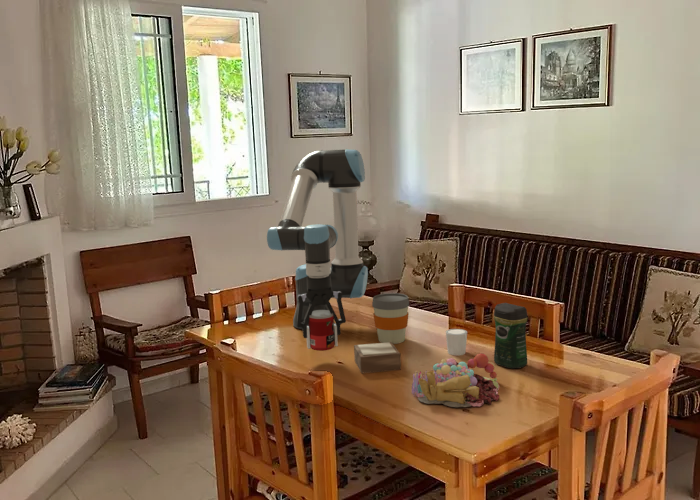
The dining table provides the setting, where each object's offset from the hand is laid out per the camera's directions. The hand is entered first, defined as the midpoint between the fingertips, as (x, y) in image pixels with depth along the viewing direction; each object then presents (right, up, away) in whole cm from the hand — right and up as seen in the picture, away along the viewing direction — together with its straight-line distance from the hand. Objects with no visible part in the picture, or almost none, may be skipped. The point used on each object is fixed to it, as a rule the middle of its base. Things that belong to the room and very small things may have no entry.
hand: (322, 345), depth 214 cm
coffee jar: (+57, -5, -8) cm, 58 cm away
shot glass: (+43, -3, +5) cm, 43 cm away
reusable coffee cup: (+23, -1, +21) cm, 31 cm away
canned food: (0, -1, 0) cm, 1 cm away
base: (+17, -5, -4) cm, 18 cm away
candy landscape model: (+37, -9, -27) cm, 47 cm away
